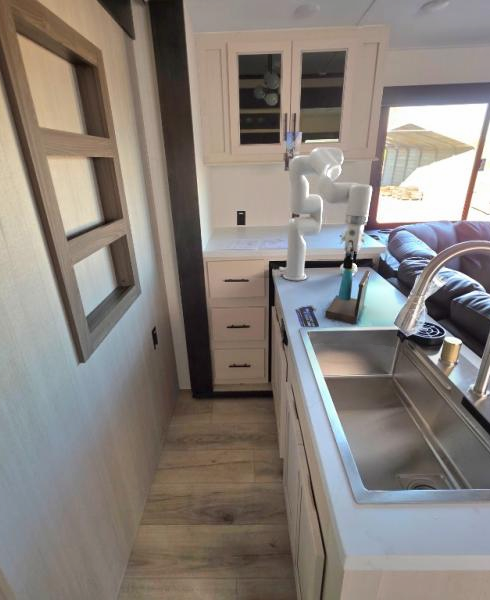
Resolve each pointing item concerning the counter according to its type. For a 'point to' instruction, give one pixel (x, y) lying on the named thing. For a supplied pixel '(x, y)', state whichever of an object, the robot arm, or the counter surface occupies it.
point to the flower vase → (340, 243)
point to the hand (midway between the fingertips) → (349, 265)
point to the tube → (346, 285)
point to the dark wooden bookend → (349, 304)
